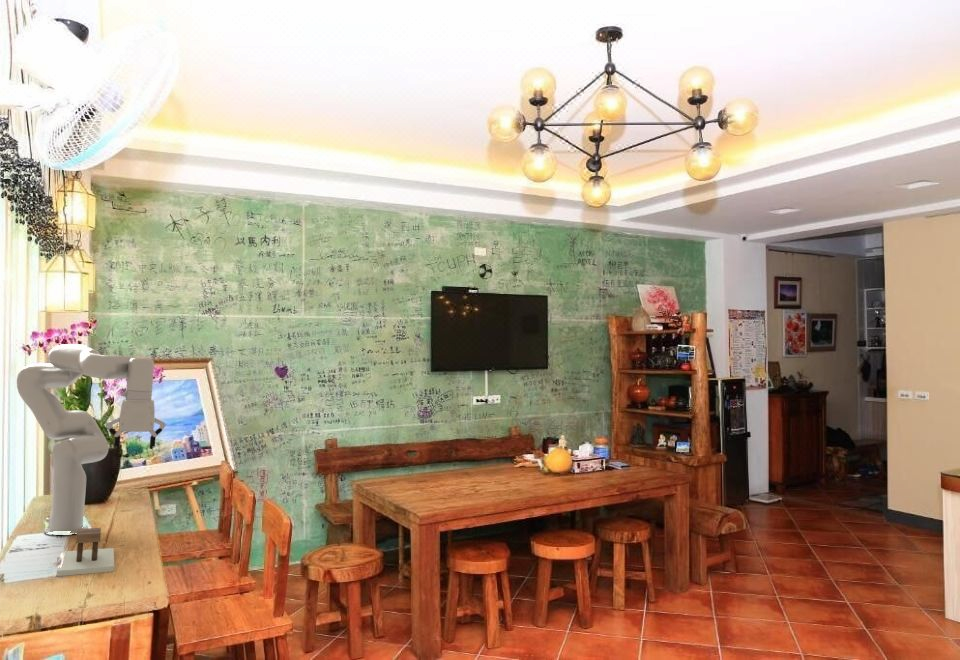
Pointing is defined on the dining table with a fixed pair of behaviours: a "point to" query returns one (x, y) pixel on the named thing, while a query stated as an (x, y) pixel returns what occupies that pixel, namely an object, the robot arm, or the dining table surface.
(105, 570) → the board
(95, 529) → the stool
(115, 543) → the dining table surface
